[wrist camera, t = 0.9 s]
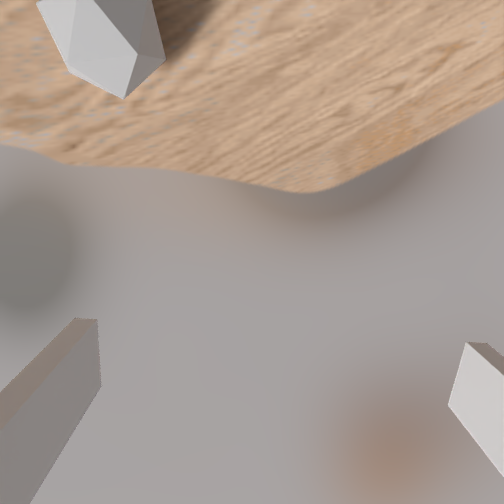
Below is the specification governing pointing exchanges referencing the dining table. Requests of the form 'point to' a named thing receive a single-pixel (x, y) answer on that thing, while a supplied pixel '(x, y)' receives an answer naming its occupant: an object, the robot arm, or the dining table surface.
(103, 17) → the die
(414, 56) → the dining table surface
